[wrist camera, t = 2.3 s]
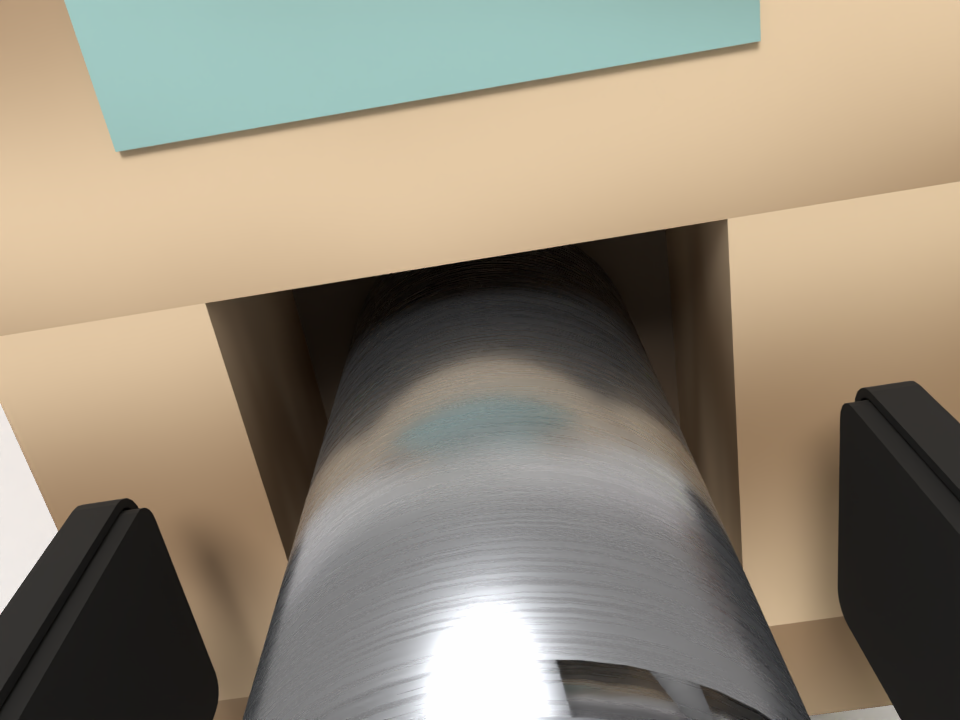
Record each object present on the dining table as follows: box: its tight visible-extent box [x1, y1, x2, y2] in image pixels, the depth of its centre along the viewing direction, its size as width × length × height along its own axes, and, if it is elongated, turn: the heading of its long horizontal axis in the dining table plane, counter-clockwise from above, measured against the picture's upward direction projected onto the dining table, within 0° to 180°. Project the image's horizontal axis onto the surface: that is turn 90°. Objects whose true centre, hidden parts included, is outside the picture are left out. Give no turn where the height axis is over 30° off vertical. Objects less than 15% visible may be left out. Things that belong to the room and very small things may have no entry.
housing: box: [0, 0, 960, 720], centre depth 12 cm, size 18×12×4 cm, turn 9°
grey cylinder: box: [242, 244, 810, 720], centre depth 11 cm, size 5×5×10 cm
